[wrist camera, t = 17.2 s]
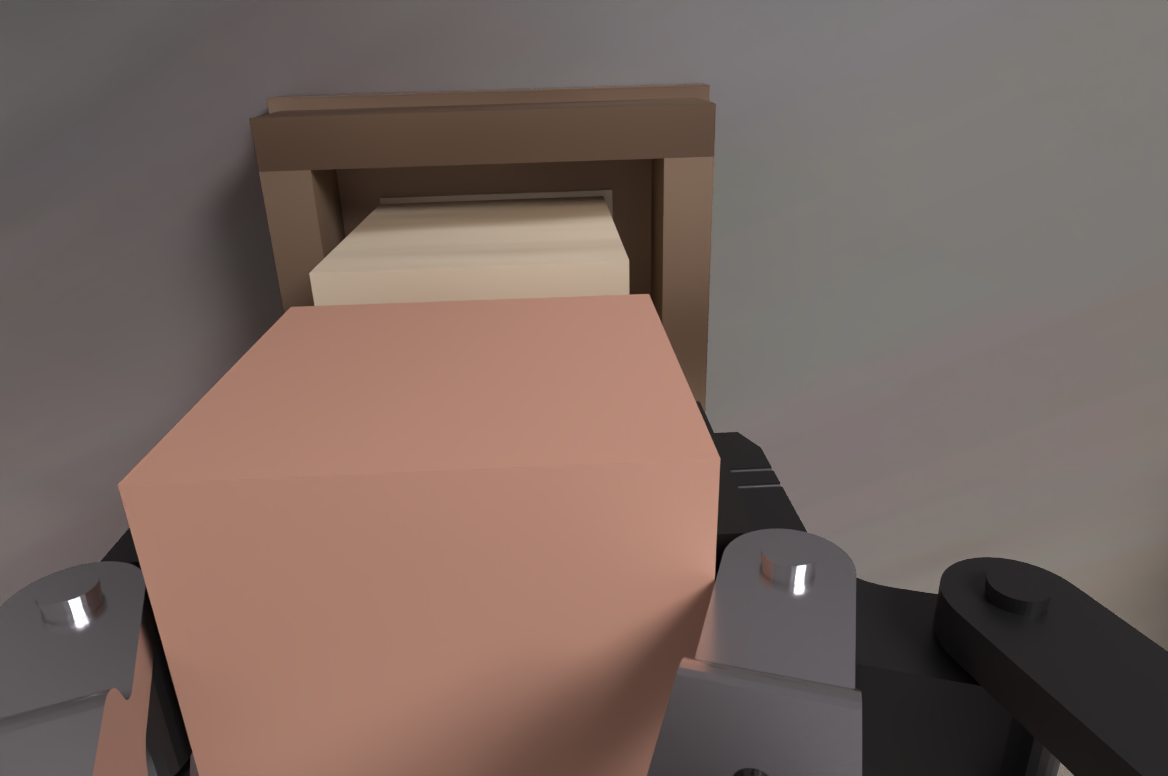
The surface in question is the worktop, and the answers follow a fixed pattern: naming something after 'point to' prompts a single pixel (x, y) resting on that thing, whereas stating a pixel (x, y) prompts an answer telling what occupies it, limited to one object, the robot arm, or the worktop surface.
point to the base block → (476, 253)
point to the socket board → (504, 176)
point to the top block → (433, 541)
